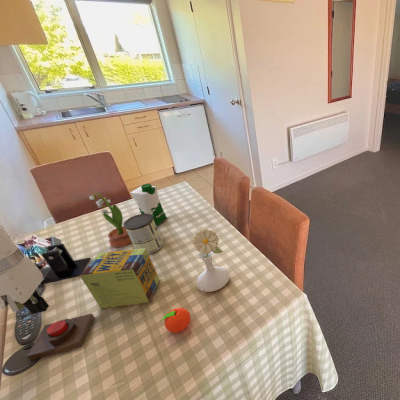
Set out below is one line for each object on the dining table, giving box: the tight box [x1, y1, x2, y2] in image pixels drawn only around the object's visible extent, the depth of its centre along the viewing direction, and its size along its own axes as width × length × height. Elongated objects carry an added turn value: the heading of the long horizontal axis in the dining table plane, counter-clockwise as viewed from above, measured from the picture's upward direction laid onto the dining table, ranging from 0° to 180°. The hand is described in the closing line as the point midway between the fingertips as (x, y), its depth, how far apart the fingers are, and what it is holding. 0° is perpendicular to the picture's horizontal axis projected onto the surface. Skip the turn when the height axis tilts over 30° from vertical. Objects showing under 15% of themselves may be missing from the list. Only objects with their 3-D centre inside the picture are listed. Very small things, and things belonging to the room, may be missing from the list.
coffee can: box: [122, 213, 164, 255], centre depth 111 cm, size 10×10×14 cm
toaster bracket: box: [40, 243, 91, 285], centre depth 99 cm, size 12×10×12 cm
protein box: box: [79, 248, 161, 309], centre depth 89 cm, size 10×15×16 cm
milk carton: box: [129, 183, 168, 227], centre depth 127 cm, size 9×9×20 cm
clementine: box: [159, 307, 191, 334], centre depth 80 cm, size 8×7×7 cm
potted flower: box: [89, 191, 133, 248], centre depth 112 cm, size 12×10×25 cm
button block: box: [26, 313, 96, 361], centre depth 78 cm, size 12×10×4 cm
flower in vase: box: [192, 228, 231, 293], centre depth 91 cm, size 13×11×25 cm
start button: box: [47, 320, 68, 337], centre depth 77 cm, size 4×4×2 cm
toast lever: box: [33, 247, 63, 271], centre depth 97 cm, size 12×3×3 cm
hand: (41, 310), depth 73 cm, fingers closed
